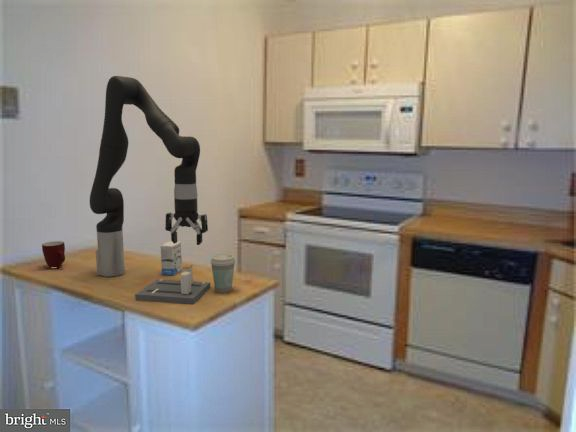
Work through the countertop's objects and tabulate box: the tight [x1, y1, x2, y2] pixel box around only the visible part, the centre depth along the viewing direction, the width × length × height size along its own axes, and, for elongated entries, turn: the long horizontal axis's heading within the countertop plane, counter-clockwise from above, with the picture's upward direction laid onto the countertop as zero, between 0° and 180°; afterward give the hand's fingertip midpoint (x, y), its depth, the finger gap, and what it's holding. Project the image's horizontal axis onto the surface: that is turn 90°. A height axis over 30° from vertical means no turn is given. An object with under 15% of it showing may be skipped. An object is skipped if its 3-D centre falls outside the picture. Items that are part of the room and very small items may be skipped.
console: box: [134, 278, 211, 305], centre depth 151 cm, size 20×16×2 cm
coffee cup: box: [209, 253, 236, 294], centre depth 154 cm, size 9×8×12 cm
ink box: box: [160, 240, 183, 276], centre depth 174 cm, size 9×5×12 cm, turn 168°
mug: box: [41, 240, 66, 268], centre depth 179 cm, size 10×8×10 cm
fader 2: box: [180, 271, 191, 294], centre depth 145 cm, size 2×3×7 cm
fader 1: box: [182, 263, 194, 284], centre depth 153 cm, size 2×3×7 cm
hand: (186, 243), depth 152 cm, fingers open, 8 cm apart
